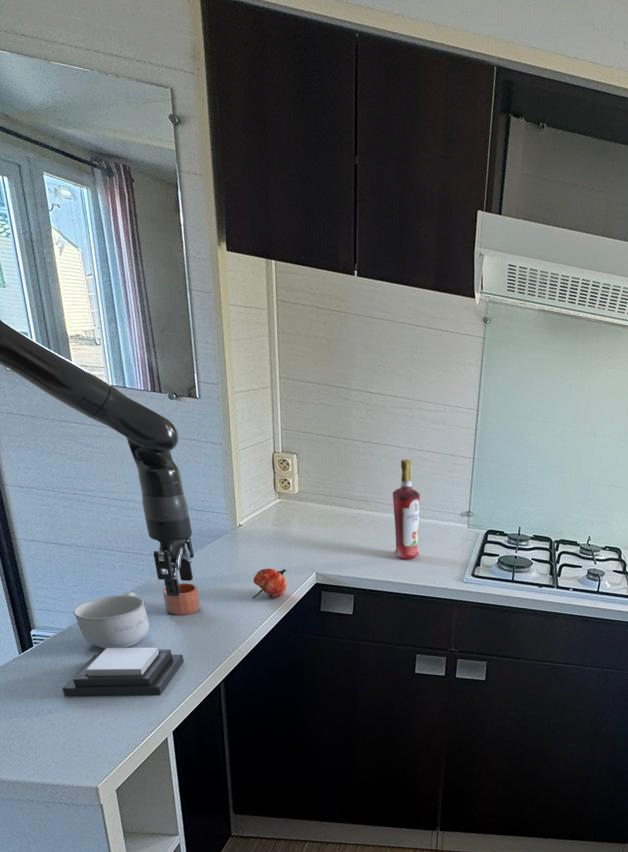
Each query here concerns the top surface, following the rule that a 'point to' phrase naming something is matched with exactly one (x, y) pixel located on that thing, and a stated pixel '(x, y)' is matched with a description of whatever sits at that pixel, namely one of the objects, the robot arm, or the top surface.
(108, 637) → the teacup
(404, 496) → the liquor
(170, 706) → the top surface
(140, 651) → the pale square tile
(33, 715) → the top surface
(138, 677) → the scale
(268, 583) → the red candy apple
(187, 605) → the orange cup
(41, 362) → the robot arm
